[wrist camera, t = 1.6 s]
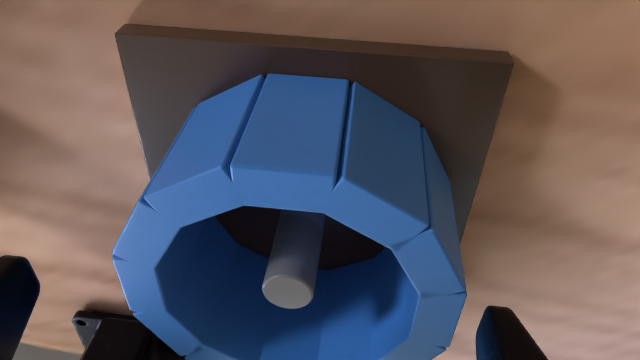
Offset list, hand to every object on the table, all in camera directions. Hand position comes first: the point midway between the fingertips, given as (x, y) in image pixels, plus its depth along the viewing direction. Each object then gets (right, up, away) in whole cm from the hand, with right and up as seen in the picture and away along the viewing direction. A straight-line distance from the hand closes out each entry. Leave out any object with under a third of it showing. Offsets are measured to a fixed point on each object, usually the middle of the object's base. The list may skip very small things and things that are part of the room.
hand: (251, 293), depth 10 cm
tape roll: (+1, +1, +9) cm, 9 cm away
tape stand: (+1, +2, +9) cm, 10 cm away
